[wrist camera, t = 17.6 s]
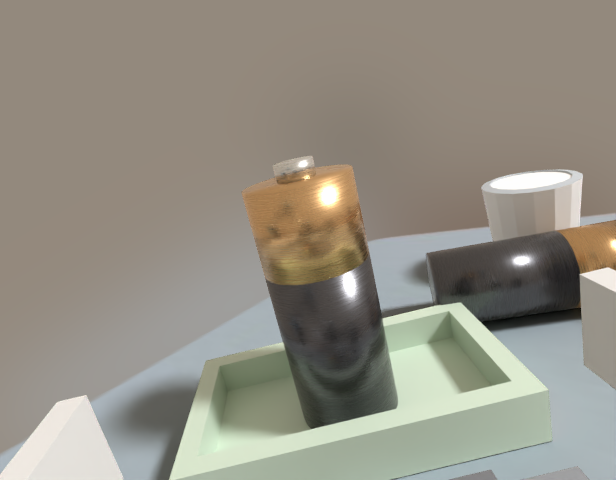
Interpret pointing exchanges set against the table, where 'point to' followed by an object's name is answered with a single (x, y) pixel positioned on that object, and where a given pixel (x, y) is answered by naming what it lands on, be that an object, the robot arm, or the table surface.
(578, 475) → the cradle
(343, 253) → the cell
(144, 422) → the table surface
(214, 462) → the trough
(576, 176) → the white cup
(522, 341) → the table surface
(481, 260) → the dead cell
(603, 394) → the table surface
